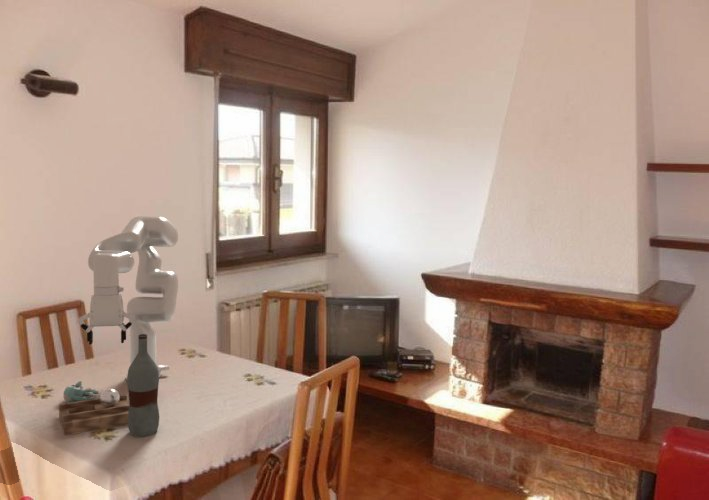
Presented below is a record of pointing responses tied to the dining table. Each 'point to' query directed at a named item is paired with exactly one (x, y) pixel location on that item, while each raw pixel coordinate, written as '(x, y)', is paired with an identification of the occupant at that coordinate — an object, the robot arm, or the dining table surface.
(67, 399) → the stuffed animal
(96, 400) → the wooden box
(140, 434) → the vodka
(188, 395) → the dining table surface
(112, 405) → the steel ball
